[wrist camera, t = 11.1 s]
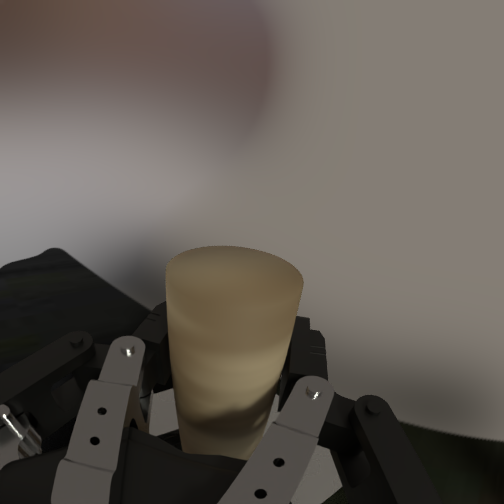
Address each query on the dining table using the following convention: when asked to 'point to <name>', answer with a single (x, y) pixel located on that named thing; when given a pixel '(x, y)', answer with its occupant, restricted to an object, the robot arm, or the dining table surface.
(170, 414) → the socket block
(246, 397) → the wooden peg
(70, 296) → the dining table surface
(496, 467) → the dining table surface
